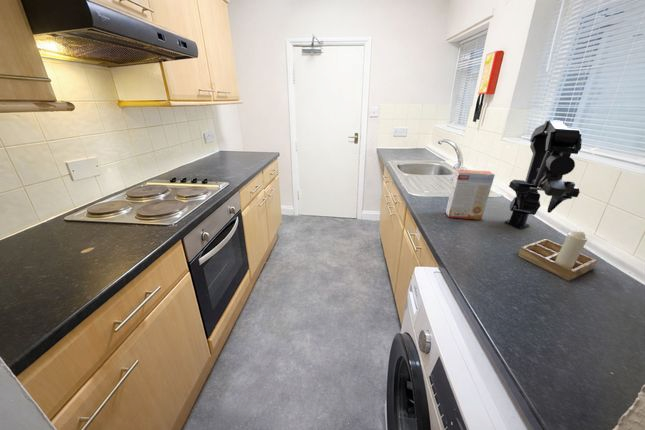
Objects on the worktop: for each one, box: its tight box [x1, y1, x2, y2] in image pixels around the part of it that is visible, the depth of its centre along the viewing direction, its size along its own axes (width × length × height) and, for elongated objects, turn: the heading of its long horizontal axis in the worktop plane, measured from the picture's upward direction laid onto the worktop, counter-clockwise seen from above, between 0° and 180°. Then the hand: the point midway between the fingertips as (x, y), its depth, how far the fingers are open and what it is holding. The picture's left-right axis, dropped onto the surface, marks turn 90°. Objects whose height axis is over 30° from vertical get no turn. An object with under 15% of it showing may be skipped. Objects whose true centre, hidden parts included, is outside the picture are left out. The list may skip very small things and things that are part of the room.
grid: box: [517, 238, 598, 282], centre depth 88 cm, size 15×15×3 cm
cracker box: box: [445, 168, 496, 221], centre depth 115 cm, size 14×6×21 cm, turn 80°
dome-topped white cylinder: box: [555, 230, 589, 270], centre depth 81 cm, size 4×4×14 cm
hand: (533, 210), depth 94 cm, fingers open, 9 cm apart
